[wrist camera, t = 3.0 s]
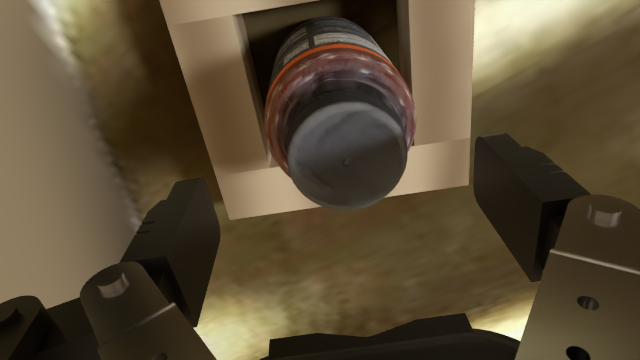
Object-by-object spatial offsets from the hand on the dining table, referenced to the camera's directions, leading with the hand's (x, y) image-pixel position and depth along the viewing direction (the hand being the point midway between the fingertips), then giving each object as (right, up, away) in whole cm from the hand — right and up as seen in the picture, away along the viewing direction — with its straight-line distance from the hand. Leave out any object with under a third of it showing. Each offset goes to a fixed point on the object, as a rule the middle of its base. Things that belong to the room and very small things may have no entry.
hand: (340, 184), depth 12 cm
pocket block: (0, +6, +11) cm, 13 cm away
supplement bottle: (0, +6, +11) cm, 13 cm away
